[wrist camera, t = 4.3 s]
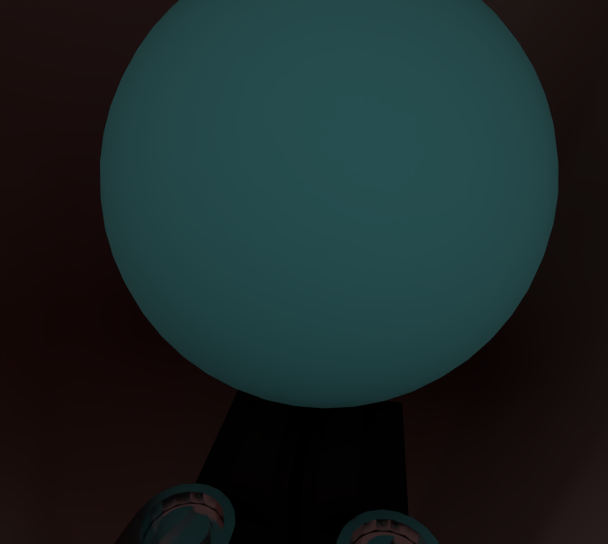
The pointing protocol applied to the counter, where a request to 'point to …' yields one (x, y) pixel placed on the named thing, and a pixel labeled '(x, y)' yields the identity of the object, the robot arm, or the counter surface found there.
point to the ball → (328, 190)
